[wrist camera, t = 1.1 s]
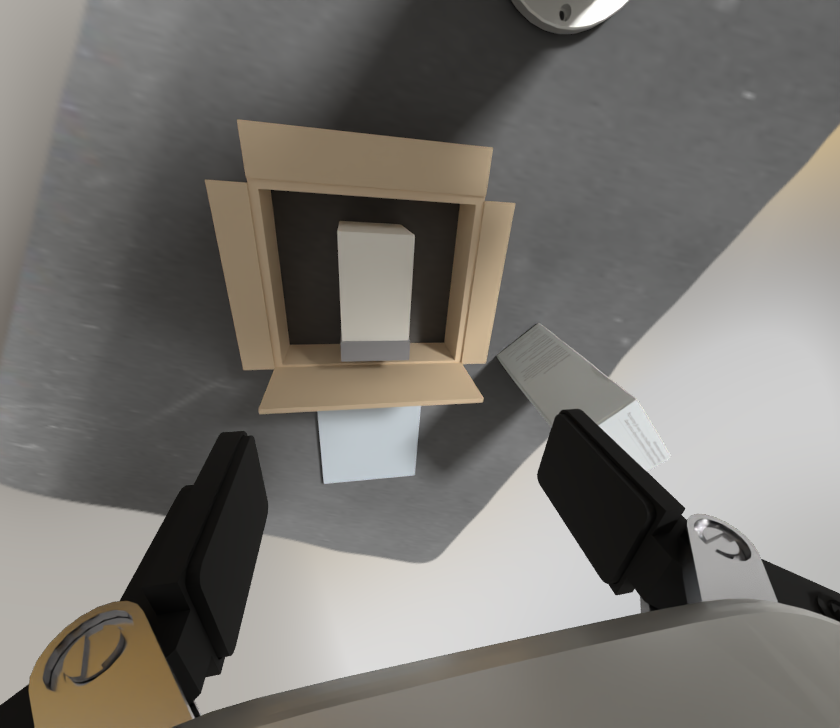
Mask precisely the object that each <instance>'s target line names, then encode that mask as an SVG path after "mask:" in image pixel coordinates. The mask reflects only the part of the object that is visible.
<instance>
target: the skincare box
mask: <svg viewBox="0 0 840 728" xmlns="http://www.w3.org/2000/svg"><path fill="white" fill-rule="evenodd" d="M497 358H498V360H499V361H500V363H501V364H502V365H503V367H504V368H505V370H506V371H507V372H508V374H509V375H510V376H511V378H512V379H513V380H514V382H515V383H516V384H517V385H518V387H519V388H520V389H521V391H522V392H523V393H524V394H525V396H526V397H527V398H528V400H529V401H530V402H531V403H532V405H533V406H534V407H535V408H536V409H537V411H538V412H539V413H540V414H541V416H542V417H543V418H544V419H545V421H546V422H547V423H548V424H549V426H550V427H551V428H552V425H553V422H554V418H555V416H556V415H558V414H559V412H560V411H561V410H565V409H581V410H582V411H584V412H585V413H586V414H587V415H588V416H589V417H590V418H591V419H592V420H593V421H594V422H595V423H596V424H597V425H598V426H599V427H600V428H601V429H602V430H603V431H605V432H606V433H607V434H608V435H609V436H610V437H611V438H612V439H613V440H614V441H615V442H616V443H617V444H618V445H619V446H620V447H621V448H622V449H623V450H625V451H626V452H627V453H628V454H629V455H630V456H631V457H632V458H633V459H634V460H635V461H636V462H637V463H638V464H639V465H640V466H641V467H642V468H643V469H645V470H646V471H647V472H648V471H650V470H652V469H653V468H655V467H657V466H659V465H661V464H662V463H664V462H665V461H667V460H668V459H670V458H671V455H670V453H669V451H668V450H667V448H666V446H665V444H664V442H663V441H662V439H661V437H660V436H659V434H658V432H657V430H656V429H655V427H654V425H653V424H652V423H651V421H650V419H649V417H648V416H647V414H646V412H645V411H644V409H643V408H642V406H641V404H640V403H639V401H638V400H637V399H636V398H635V397H634V396H632V395H631V394H630V393H628V392H627V391H626V390H624V389H623V388H622V387H621V386H619V385H618V384H617V383H615V382H614V381H613V380H611V379H610V378H609V377H607V376H606V375H605V374H603V373H602V372H601V371H600V370H598V369H597V368H596V367H595V366H594V365H593V364H591V363H590V362H589V361H588V360H586V359H585V358H584V357H583V356H581V355H580V354H579V353H577V352H576V351H575V350H574V349H572V348H571V347H570V346H568V345H567V344H566V343H565V342H563V341H562V340H561V339H559V338H558V337H557V336H556V335H554V334H553V333H552V332H551V331H549V330H548V329H547V328H545V327H544V326H543V325H541V324H540V323H538V324H536V325H535V326H534V327H533V328H531V329H530V330H529V331H527V332H526V333H525V334H524V335H522V336H521V337H520V338H518V339H517V340H516V341H515V342H513V343H512V344H511V345H509V346H508V347H507V348H506V349H504V350H503V351H502V352H500V353H499V354H498V355H497Z"/></svg>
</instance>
